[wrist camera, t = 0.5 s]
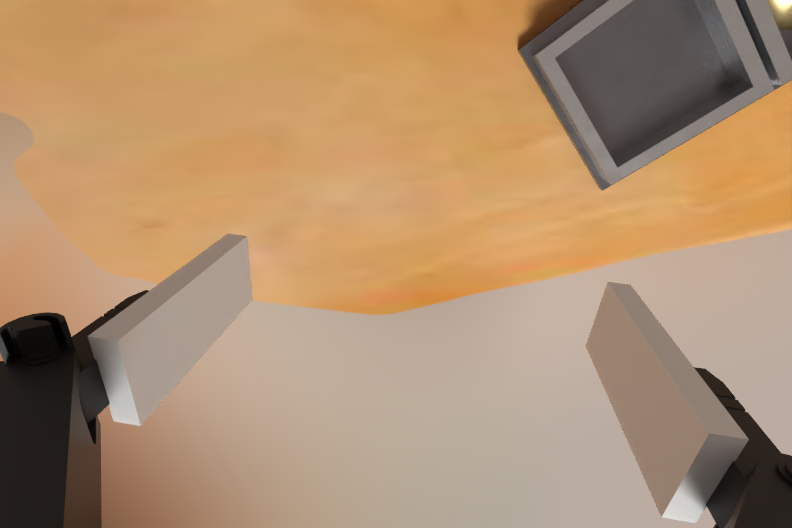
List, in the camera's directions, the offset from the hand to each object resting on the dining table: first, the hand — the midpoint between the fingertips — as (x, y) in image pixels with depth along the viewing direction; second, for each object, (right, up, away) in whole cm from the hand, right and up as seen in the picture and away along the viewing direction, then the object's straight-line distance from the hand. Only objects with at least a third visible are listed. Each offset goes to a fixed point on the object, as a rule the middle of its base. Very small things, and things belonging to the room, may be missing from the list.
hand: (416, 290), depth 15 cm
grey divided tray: (+23, +19, +16) cm, 34 cm away
